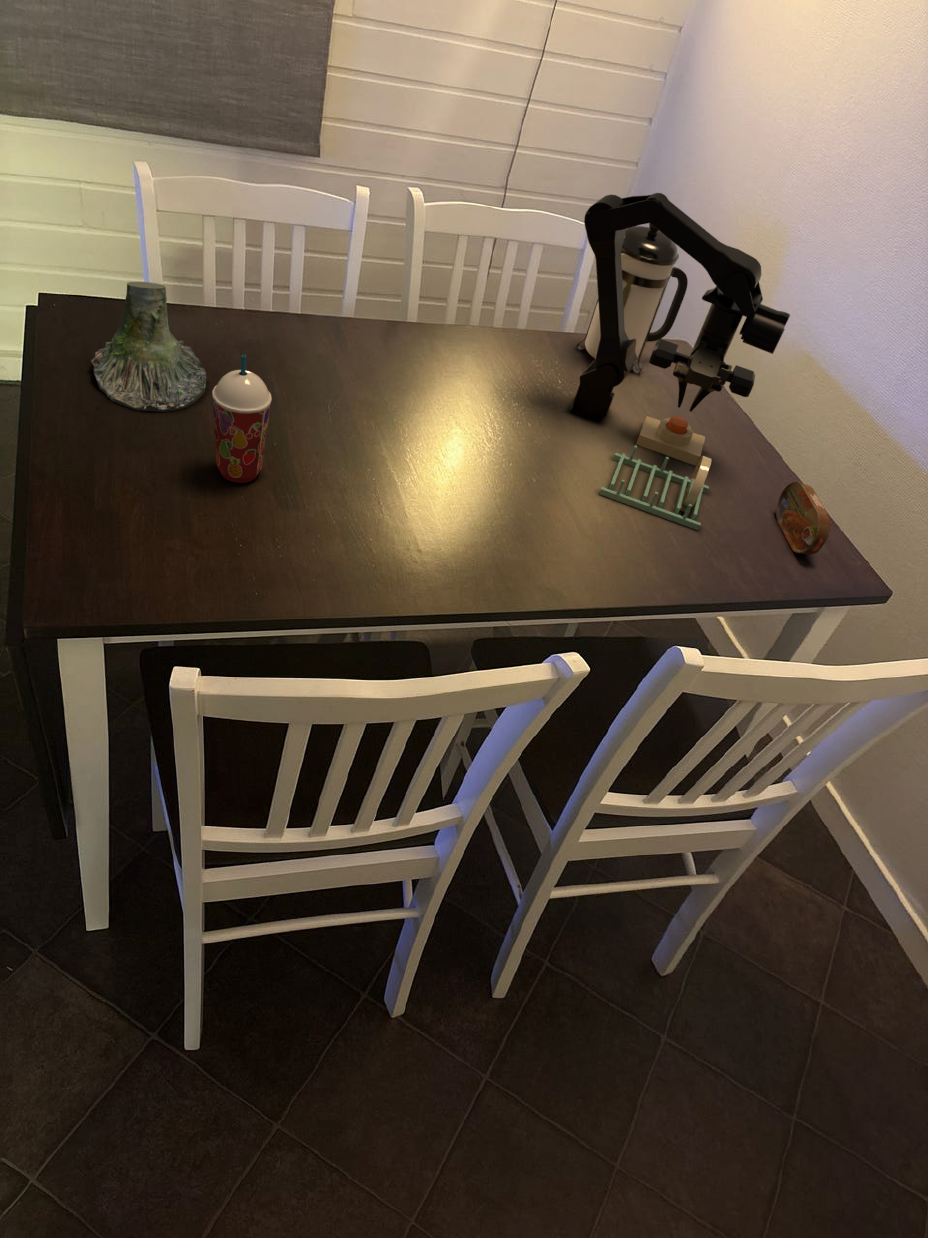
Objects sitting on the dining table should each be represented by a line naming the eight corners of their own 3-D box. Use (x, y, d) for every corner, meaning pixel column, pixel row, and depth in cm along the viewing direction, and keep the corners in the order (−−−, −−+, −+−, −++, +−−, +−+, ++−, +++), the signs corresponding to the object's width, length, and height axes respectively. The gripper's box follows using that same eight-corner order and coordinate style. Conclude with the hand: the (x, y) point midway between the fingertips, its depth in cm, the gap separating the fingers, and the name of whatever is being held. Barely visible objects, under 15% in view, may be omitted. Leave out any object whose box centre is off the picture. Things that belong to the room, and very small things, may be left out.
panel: (635, 444, 170) (643, 426, 167) (642, 425, 176) (650, 407, 173) (696, 466, 169) (704, 448, 166) (701, 446, 175) (709, 428, 172)
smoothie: (276, 469, 141) (284, 354, 128) (249, 495, 135) (255, 378, 122) (229, 450, 142) (232, 334, 129) (200, 475, 136) (201, 357, 123)
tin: (770, 509, 163) (791, 471, 158) (786, 511, 164) (808, 473, 158) (797, 563, 153) (821, 525, 147) (814, 565, 153) (838, 527, 148)
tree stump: (89, 412, 142) (74, 295, 133) (98, 375, 159) (86, 269, 150) (208, 413, 147) (202, 300, 138) (206, 377, 164) (200, 274, 155)
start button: (665, 430, 169) (668, 422, 167) (668, 421, 171) (671, 414, 170) (683, 437, 168) (687, 429, 167) (686, 428, 171) (689, 420, 170)
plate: (678, 516, 155) (699, 471, 149) (685, 490, 162) (705, 446, 155) (687, 519, 155) (708, 475, 149) (693, 493, 162) (714, 449, 155)
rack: (599, 494, 155) (606, 475, 152) (613, 457, 165) (620, 439, 162) (698, 530, 153) (707, 512, 151) (706, 491, 163) (715, 473, 160)
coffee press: (630, 388, 186) (684, 245, 165) (563, 357, 189) (608, 214, 169) (659, 361, 198) (712, 225, 177) (595, 332, 201) (640, 196, 181)
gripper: (660, 330, 151) (629, 410, 162) (766, 367, 149) (728, 446, 160) (669, 307, 159) (640, 384, 170) (770, 342, 157) (734, 418, 168)
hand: (684, 408), depth 167 cm, fingers closed
